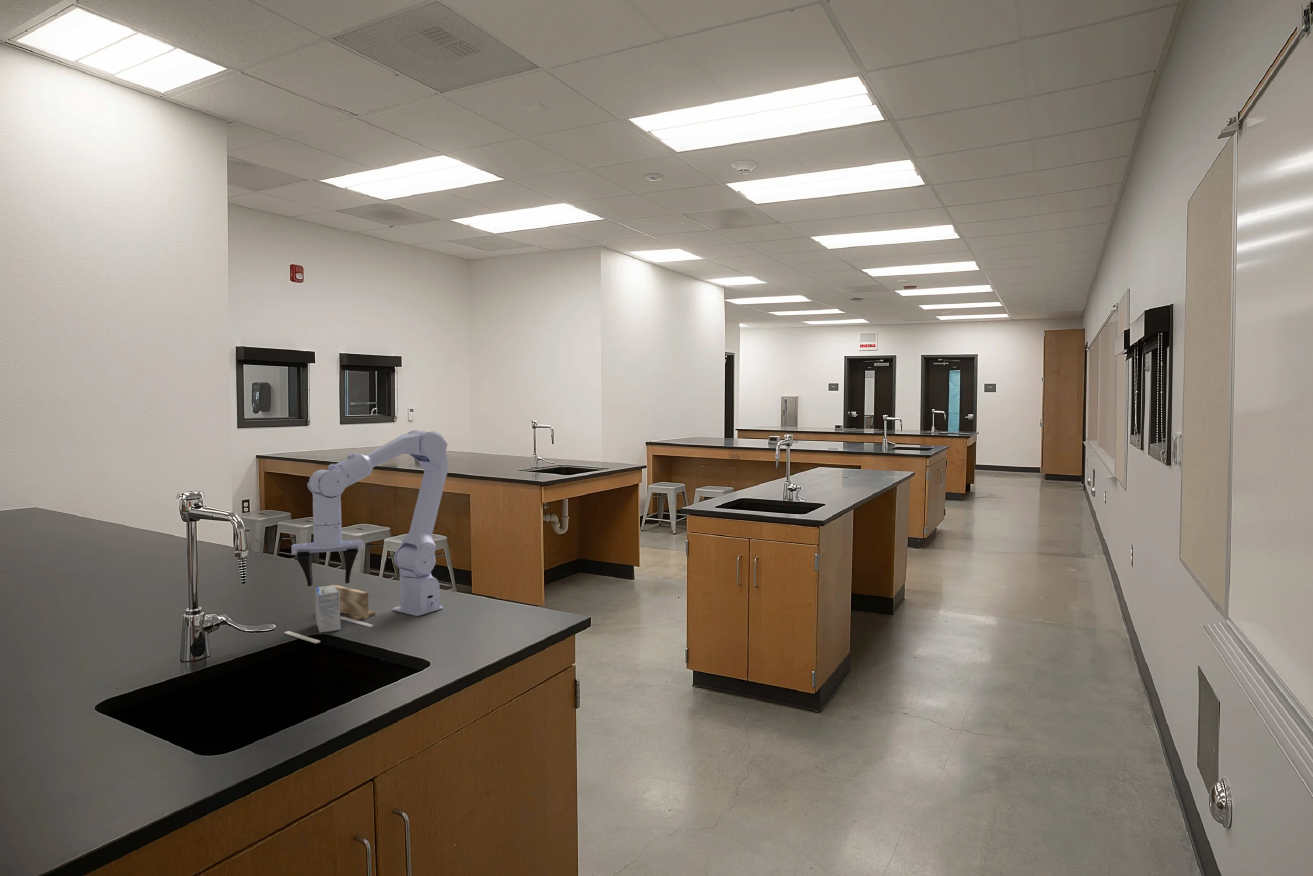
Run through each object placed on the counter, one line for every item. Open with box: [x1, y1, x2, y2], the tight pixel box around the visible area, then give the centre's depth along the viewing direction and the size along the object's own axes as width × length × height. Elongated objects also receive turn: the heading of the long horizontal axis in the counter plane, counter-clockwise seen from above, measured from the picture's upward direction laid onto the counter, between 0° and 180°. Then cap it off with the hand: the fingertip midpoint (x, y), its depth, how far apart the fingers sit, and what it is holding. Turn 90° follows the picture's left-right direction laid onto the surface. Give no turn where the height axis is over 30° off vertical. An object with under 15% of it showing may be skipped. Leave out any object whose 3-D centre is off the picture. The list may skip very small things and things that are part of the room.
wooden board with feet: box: [328, 584, 376, 621], centre depth 175 cm, size 14×5×6 cm, turn 57°
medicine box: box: [314, 584, 341, 634], centre depth 164 cm, size 8×4×9 cm, turn 31°
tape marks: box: [283, 616, 374, 644], centre depth 162 cm, size 12×14×1 cm
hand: (329, 583), depth 162 cm, fingers open, 7 cm apart
